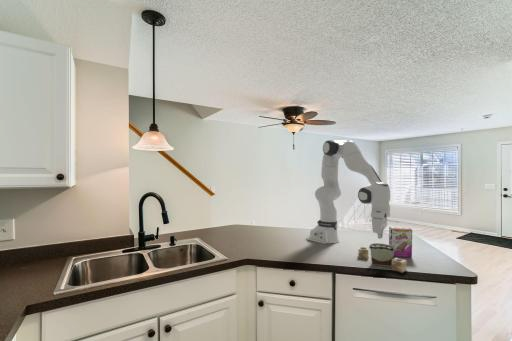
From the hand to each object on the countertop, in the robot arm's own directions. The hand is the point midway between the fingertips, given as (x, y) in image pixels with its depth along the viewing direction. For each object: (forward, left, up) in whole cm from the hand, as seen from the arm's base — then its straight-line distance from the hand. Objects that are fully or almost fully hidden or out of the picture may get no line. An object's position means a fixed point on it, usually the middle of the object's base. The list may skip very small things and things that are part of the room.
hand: (380, 237), depth 134 cm
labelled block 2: (+9, -4, -14) cm, 17 cm away
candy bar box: (+7, +19, -14) cm, 25 cm away
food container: (0, 0, -14) cm, 14 cm away
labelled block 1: (-10, +5, -14) cm, 17 cm away
